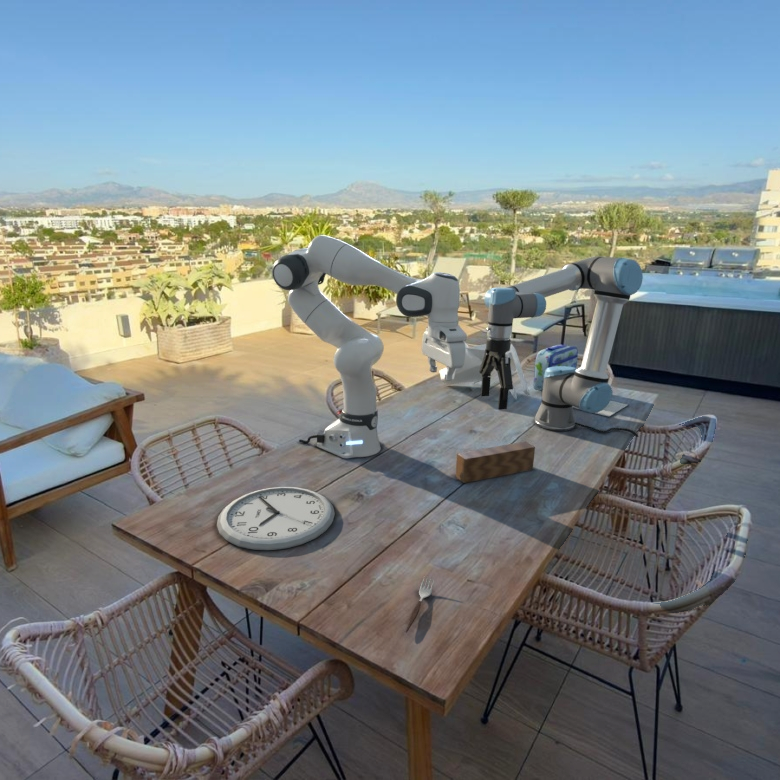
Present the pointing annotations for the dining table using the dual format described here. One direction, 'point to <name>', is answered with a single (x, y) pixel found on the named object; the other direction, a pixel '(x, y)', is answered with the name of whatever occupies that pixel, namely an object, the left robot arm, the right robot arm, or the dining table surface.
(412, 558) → the dining table surface
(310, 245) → the left robot arm
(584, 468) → the dining table surface
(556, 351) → the lunch box
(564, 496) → the dining table surface
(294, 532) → the wall clock
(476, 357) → the white plastic object
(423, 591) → the fork
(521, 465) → the bar
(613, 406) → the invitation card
